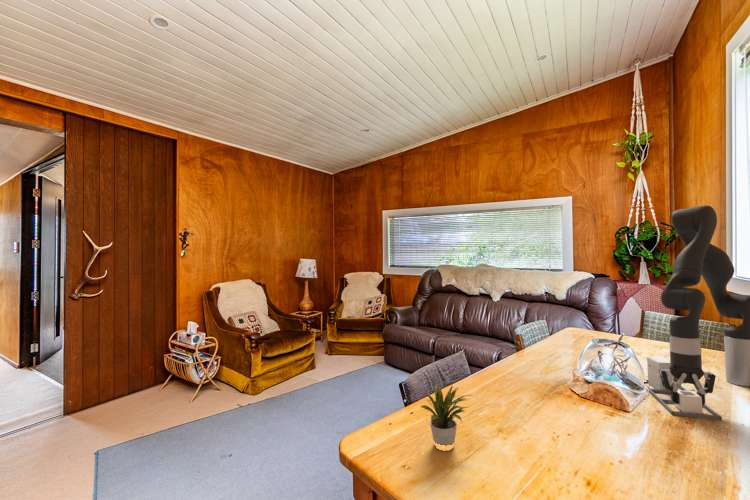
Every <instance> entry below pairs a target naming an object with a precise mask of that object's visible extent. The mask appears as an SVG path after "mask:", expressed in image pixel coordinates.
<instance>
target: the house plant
mask: <svg viewBox="0 0 750 500" xmlns="http://www.w3.org/2000/svg"><path fill="white" fill-rule="evenodd" d="M453 386H454V385H453V384H452V385H451V387H449V390H448V392H447V393H446V394H445V397H444V395H443V391H442V388H441V385H440V384H438V385H437V384H436V383H434V393H433V395H434V396H435V397H434V398H435V399H434V398H433V396H431V394H429V392H427V391H425V390H423V392H424V393H425V394H426V396H427V398H428V399H429V400H428V399H427V398H425V400H426V401H427V402H428V403H429V404H430V405H431V407H432V408H431V407H430V406H428V405H426V404H423V405H421V406H420V407H419V408H422V409H425V410H427V411H429V412H430V413H432V414H430V421H429V422H430V423H429V424H430V430H431V434H432V439H433V442H434V441H435V443H437V444H440V445H445V446H447V445H452V444H453V443H454V442H456V434H457V427H458V426H457V425H458V424H457V422H456V420H455V419H454V418H456V419H459V420H460V421H461V423H462V418H461V416H460V415H459V414H461V413H466V411H465V408H468V406H460V405H457V404H458V403H460V402H464V401H465V400H467V398H465V397H469V396H470V394H465V395H464V394H463V395H462V396H458V397H457V398H456V399H454V398H455V397H456V393H457V391H458V390H459V388H460V387H455V388H454V390H453ZM470 400H471V399H470V398H469V399H468V401H470ZM455 409H456V410H455ZM454 444H455V443H454Z"/></svg>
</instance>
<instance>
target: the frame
mask: <svg viewBox="0 0 750 500" xmlns="http://www.w3.org/2000/svg"><path fill="white" fill-rule="evenodd" d="M645 380H646V381H647V383H646V384H648V379H645ZM647 387H648V389H649V392H648V393H649V394H650V395H651V396H652V397H653V398H654V399H655V400H656V401H657V402H658V403H659V404H660V406H662V407H663V408H664V409H666V410H667V412H669V414H670V415H672V416H678V417H688V418H697V419H699V418H700V419H707V420H716V421H717V420H718V421H722V420H723V417H722V415H720V414H719V413H718V412H716V411H715V410H714V409H712V408H711V407H710V406H708V405H707V404H706V403H705V405H703V406H702V409H705V410H706V411H707V412H708V413H710V414H704V413H690V412H682V411H678V410H677V411H675V410H673V409H672V408H671V407H670V406H668V404H674V405H675V403H674V402H673V401H672V400H671V398H670V399H668V398H660V397H659V396H658V395H657V394H667V395H668V394H669V395H671V391H670V390H659V389H656V388H650V387H649V386H647ZM678 390H683V391H688V390H687V389H686V388H685V387H683V386H682V385H681V386H680V387H679V389H678Z"/></svg>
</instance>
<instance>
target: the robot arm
mask: <svg viewBox="0 0 750 500" xmlns="http://www.w3.org/2000/svg"><path fill="white" fill-rule="evenodd" d="M670 219H671V220H670V221H671V224H672V227H673V229H674V231H675V233H676V234H677V236H678V237H679V238H680V240H681V242H682V243H683V244H684V245H685V247H684V248H683V249H682V250H681V252H680V253H679V254H678V255H677V256H676V257H675V259H674V260H675V261H674V265H673V269H672V273H671V276H670V279H669V281H668V282H667V284H666V285H665V287H664V288H663V289H662V292H661V294H660V302H661V304H662V306H664V307H665V309H669V310H679V311H680V310H681V311H688V314H687V315H684V316H673V317H671V318H670V319H669V344H668V345H669V356H670V357H669V360H670V363H671V366H670V368H669V369H665V370H663V369H659V373H660V377H661V381H662V385H663V387H665V388H666V389H667V390H670V391H671V394H670V400H672V401H673V402H674V403H675V404H679V397H678V392H677V391H678V390H680V389H679V387H680V386H682V384H691V385H693V386H694V387H695V389H696V392H695V393H696V394H698V395H699V396H701V397H702V406H703V405H705V404H706V394H713V393H714V387H715V382H716V377H717V375H715V374H714V373H712V372H711V371H704V370H703V362H702V345H701V340H700V319H701V316H702V312H703V309H704V307H705V304H706V296H705V294H704V292H703V291H702V289H699V288H693V286H696V285H698V284H699V283H700V282H701V280H702V278H703V280H704V282H705V284H706V286H707V288H708V290H709V293H710V295H711V299H712V301H713V303H714V306H715V309H716V311H717V312H718V314H720V316H722V317H724V318H727V319H736V320H742V321H741V322H742V323H741V324H739V325H735V326H728V327H725V328H723V342H724V364H725V365H724V367H725V378H726V379H725V380H726V382H727V383H730V384H733V385H737V386H742V387H749V388H750V294H735V293H730V292H728V291H727V289H726V288H727V285H728V284H729V282H730V281H731V280H732V278H733V277H734V274H735V267H734V264H733V263H732V261H731V258H730V256H729V255H728V253H726V252H725V251H724V250H723V249H721V248H720V247H718V246H716V245H714V244H712V243H711V242H712V239H713V237H714V234H715V231H716V228H717V224H718V215H717V212H716V210H715V209H714V208H713V207H712V206H711V205H707V204H706V205H697V206H693V207H688V208H681V209H676V210H675V211H673V212H672V213H671V218H670ZM691 287H692V288H691ZM670 373H671V374H672V375H673V376H674V377H673V379H672V383H671V385H669V381H668V376H669V374H670ZM702 378H704V384H702V383H701V381H700V380H701V379H702ZM675 404H674V405H675Z"/></svg>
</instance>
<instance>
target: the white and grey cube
mask: <svg viewBox="0 0 750 500" xmlns="http://www.w3.org/2000/svg"><path fill="white" fill-rule="evenodd" d="M677 392H678V397H679V404H674V406H675V407H676V408H677V409H679V410H680V412H687V413H697V414H704V412H703V407H702V397H701V396H699V395H698V394H696V392H695V391H693V390H687V391H683V390H681V389H678V391H677Z"/></svg>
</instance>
